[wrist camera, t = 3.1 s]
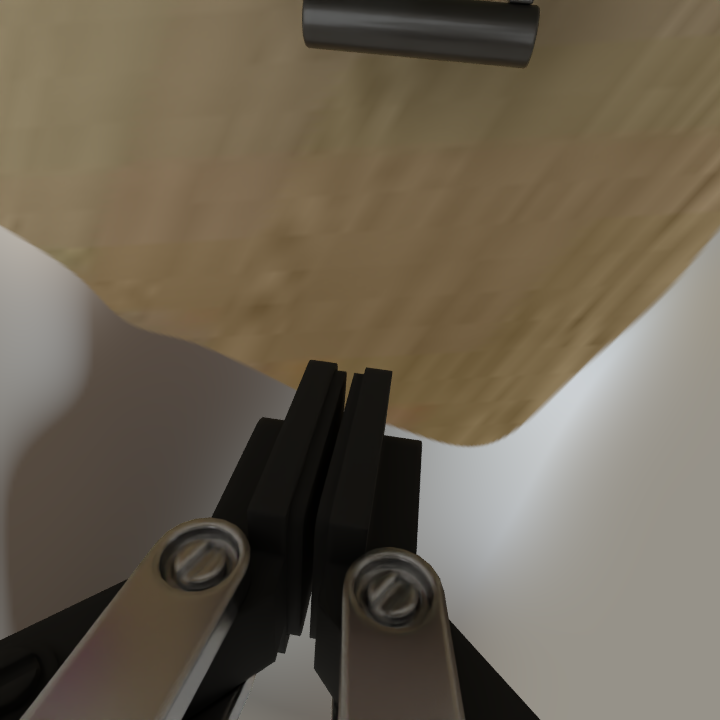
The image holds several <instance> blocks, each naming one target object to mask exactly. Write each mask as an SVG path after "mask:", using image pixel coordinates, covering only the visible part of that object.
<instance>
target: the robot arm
mask: <svg viewBox="0 0 720 720" xmlns="http://www.w3.org/2000/svg"><path fill="white" fill-rule="evenodd" d="M346 377H347V373H346V372H344V371H338V366H337V363H331V362H324V361H316V360H310V361H309V363H308V365H307V368H306V370H305V372H304V375H303V377H302V380H301V382H300V384H299V387H298V389H297V391H296V394H295V396H294V399H293V401H292V404H291V406H290V408H289V411H288V413H287V416H286V418H285V420H278V419H271V418H264V417H262V418H261V419H260V420H259V422H258V423H257V425H256V427H255V429H254V431H253V433H252V435H251V437H250V439H249V441H248V443H247V446H246V448H245V450H244V452H243V454H242V456H241V458H240V460H239V462H238V464H237V466H236V468H235V470H234V472H233V474H232V476H231V478H230V480H229V483H228V485H227V487H226V489H225V491H224V493H223V495H222V497H221V499H220V501H219V503H218V505H217V507H216V509H215V511H214V513H213V516H212V517H211V518H200V519H194V520H191V521H188V522H184V523H182V524H179V525H178V526H176V527H174V528H173V529H171V530H169V531H168V532H167V533H166V534H165V535H164V536H163V537H162V538H160V540H158V542H157V543H156V544H155V545H154V546H153V548H152V549H151V550H150V552H149V553H148V554H147V555H146V557H145V558H144V559H143V561H142V562H141V563H140V564H139V566H138V567H137V569H136V570H135V571H134V572H133V574H132V575H131V576H130V577H129V579H127V580H125V581H123V582H121V583H119V584H117V585H114V586H112V587H110V588H108V589H106V590H104V591H102V592H100V593H98V594H96V595H94V596H91V597H89V598H88V599H85V600H83V601H81V602H79V603H77V604H75V605H73V606H71V607H69V608H67V609H64V610H62V611H60V612H58V613H56V614H54V615H52V616H50V617H48V618H46V619H44V620H42V621H39V622H37V623H35V624H33V625H31V626H29V627H27V628H25V629H23V630H21V631H19V632H17V633H14V634H12V635H10V636H8V637H6V638H4V639H2V640H0V720H238V718H239V716H240V714H241V711H242V709H243V707H244V705H245V703H246V700H247V698H248V696H249V693H250V692H251V689H252V687H253V683H254V680H255V676H256V674H257V673H258V672H260V671H261V670H263V669H264V668H265V667H267V666H268V665H270V664H272V663H273V662H275V660H276V656H277V652H279V653H285V651H286V647H287V643H288V640H289V635H290V634H292V635H298V636H300V635H301V633H302V629H303V626H304V621H305V617H306V613H307V608H308V605H309V600H310V596H311V592H312V597H311V618H310V638H314V639H316V642H315V660H314V669H315V671H316V672H317V674H318V675H319V677H320V678H321V680H322V682H323V683H324V684H325V686H326V688H327V689H328V691H329V692H330V694H331V696H332V705H331V720H540V719H539V718H538V717H537V716H536V715H535V714H534V712H533V711H532V710H531V709H530V708H529V707H528V706H527V705H526V704H525V703H524V701H523V700H522V699H521V698H520V697H519V696H518V695H517V694H516V693H515V692H514V690H513V689H512V688H511V687H510V686H509V685H508V684H507V683H506V682H505V681H504V679H503V678H502V677H501V676H500V675H499V674H498V673H497V672H496V671H495V670H494V668H493V667H492V666H491V665H490V664H489V663H488V662H487V661H486V660H485V659H484V657H483V656H482V655H481V654H480V653H479V652H478V651H477V650H476V649H475V648H474V646H473V645H472V644H471V643H470V642H469V641H468V640H467V639H466V638H465V636H463V634H462V633H461V632H460V631H459V630H458V629H457V628H456V627H455V625H454V624H453V623H451V621H450V620H449V618H448V612H447V607H446V600H445V594H444V590H443V587H442V584H441V581H440V578H439V576H438V575H437V574H436V572H435V571H434V569H433V568H432V566H431V565H430V564H428V563H427V562H426V561H424V559H422V558H421V557H420V556H418V555H416V551H417V550H416V549H417V532H418V512H419V493H420V473H421V454H422V442H421V441H419V440H412V439H406V438H399V437H392V436H386V435H384V431H385V424H386V416H387V409H388V401H389V394H390V386H391V379H392V371H388V370H381V369H374V368H367V367H366V369H365V373H364V374H358V373H354V376H353V380H352V383H351V387H350V391H349V395H348V398H347V402H346V406H345V410H344V403H345V390H346Z"/></svg>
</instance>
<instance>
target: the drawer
mask: <svg viewBox="0 0 720 720" xmlns="http://www.w3.org/2000/svg"><path fill="white" fill-rule="evenodd" d="M507 1H508V3H503V2H491V1H479V0H303V9H302V28H303V37H304V41H305V44H306V46H307V47H308V48H316V49H326V50H337V51H347V52H358V53H368V54H379V55H389V56H400V57H410V58H421V59H431V60H442V61H452V62H463V63H473V64H484V65H495V66H505V67H516V68H526V67H527V65H528V63H529V61H530V58H531V55H532V52H533V48H534V44H535V40H536V35H537V30H538V25H539V17H540V9H539V6H537V5H530V4H532V3H533V1H534V0H507Z"/></svg>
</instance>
